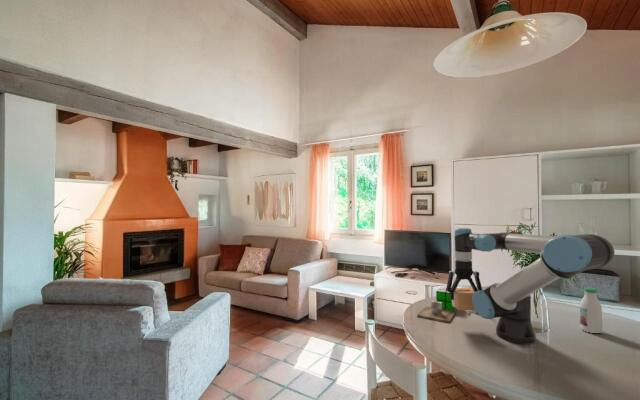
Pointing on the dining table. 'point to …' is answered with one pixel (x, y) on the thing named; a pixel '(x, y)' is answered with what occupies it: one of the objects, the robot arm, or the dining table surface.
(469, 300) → the orange hollow rectangular tube
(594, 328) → the milk bottle
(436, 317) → the key base
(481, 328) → the dining table surface
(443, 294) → the puzzle cube
